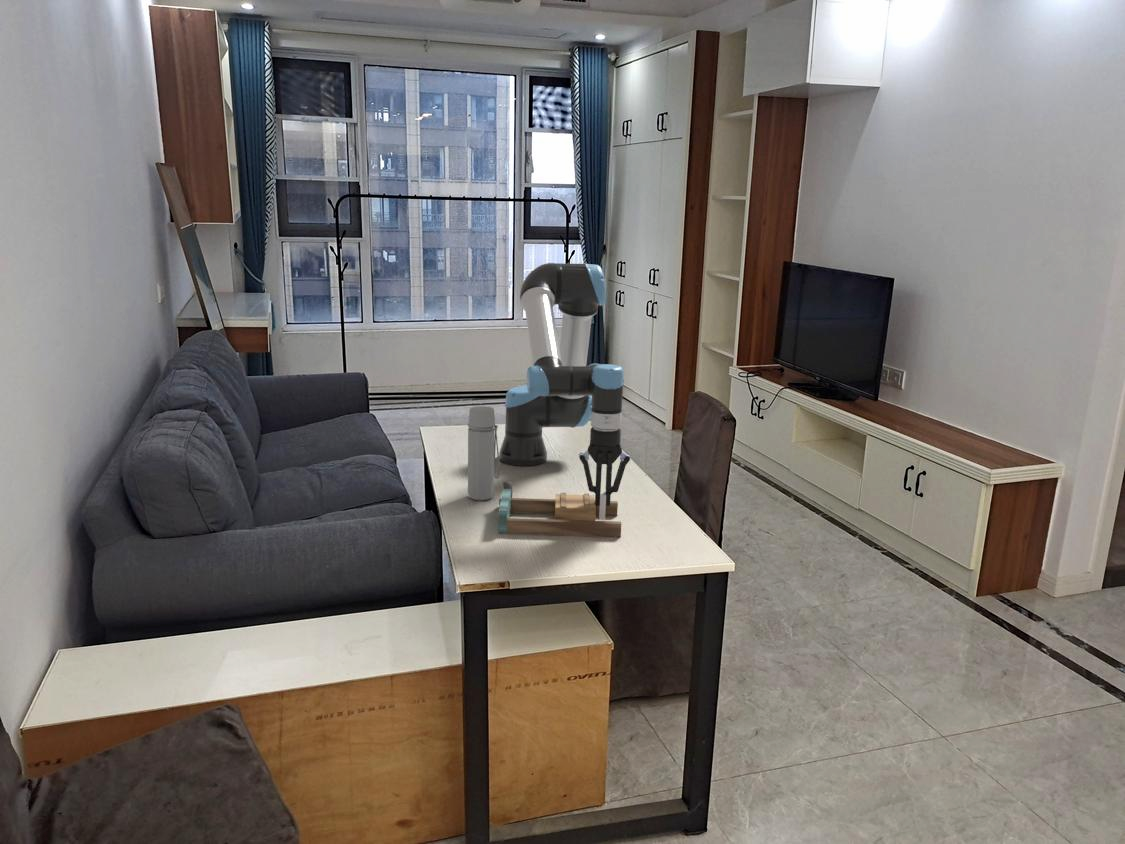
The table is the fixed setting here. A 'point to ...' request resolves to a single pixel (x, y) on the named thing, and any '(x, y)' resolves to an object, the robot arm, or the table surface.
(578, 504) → the crate
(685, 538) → the table surface
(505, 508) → the bay
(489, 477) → the water bottle
